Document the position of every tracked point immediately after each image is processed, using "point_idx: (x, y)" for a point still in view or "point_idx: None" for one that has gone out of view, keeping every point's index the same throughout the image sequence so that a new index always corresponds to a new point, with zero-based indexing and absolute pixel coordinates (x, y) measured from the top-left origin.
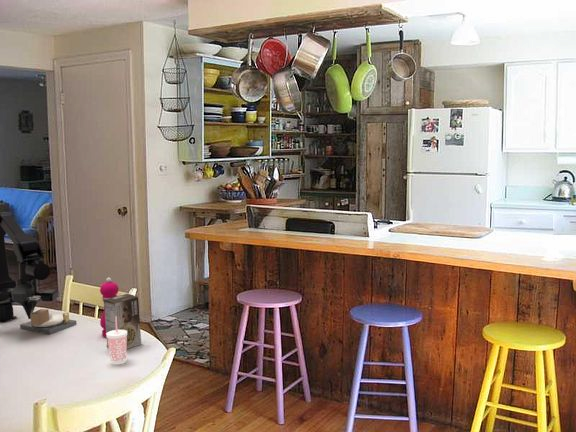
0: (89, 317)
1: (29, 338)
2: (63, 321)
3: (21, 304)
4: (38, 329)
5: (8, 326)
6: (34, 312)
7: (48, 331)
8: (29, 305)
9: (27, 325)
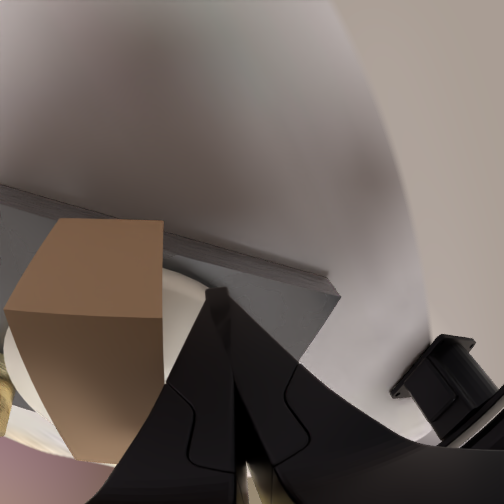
0: (45, 448)
1: (101, 42)
2: (2, 367)
3: (430, 449)
4: None
5: (408, 300)
6: (145, 382)
7: None
8: (181, 490)
9: (267, 289)
